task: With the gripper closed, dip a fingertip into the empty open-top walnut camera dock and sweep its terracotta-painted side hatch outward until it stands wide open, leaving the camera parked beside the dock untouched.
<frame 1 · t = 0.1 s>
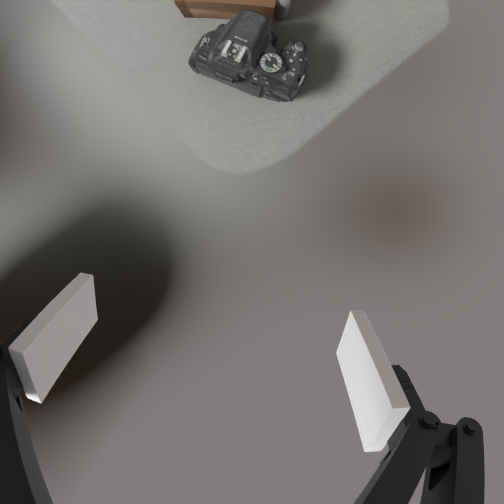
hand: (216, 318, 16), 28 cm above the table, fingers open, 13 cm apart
camera: (249, 65, 35), on the table
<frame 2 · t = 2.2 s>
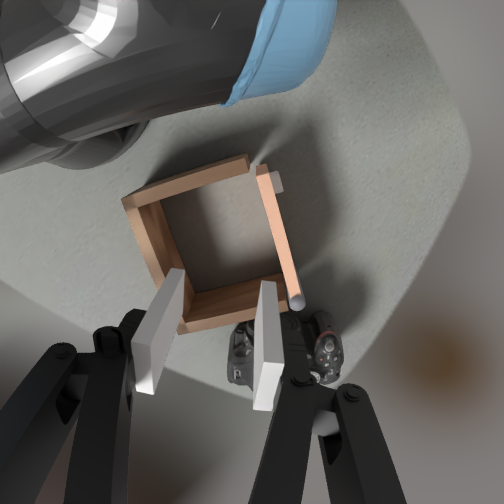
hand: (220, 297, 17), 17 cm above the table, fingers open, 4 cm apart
hatch: (283, 232, 29), point 4 cm above the table, hinge at 0.0°
dock: (220, 233, 34), on the table
camera: (279, 330, 38), on the table
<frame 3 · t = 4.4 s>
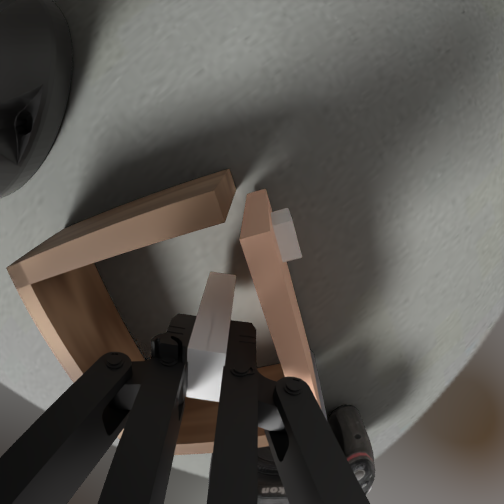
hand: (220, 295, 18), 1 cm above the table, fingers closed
hatch: (296, 325, 15), point 4 cm above the table, hinge at 0.1°, touching gripper
dock: (188, 306, 20), on the table
camera: (283, 426, 25), on the table
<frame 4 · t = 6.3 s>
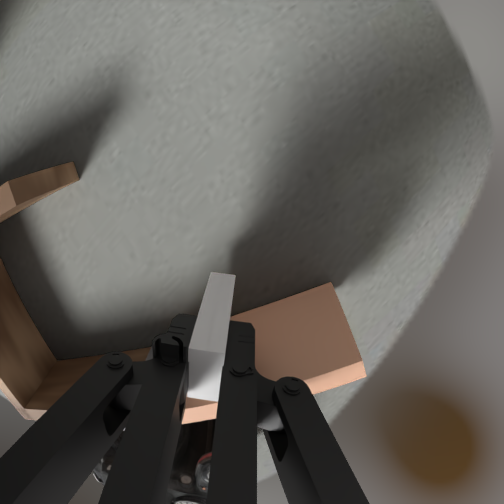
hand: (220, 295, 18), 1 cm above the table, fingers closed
hatch: (236, 363, 16), point 4 cm above the table, hinge at 84.5°
dock: (61, 286, 20), on the table
camera: (173, 416, 24), on the table
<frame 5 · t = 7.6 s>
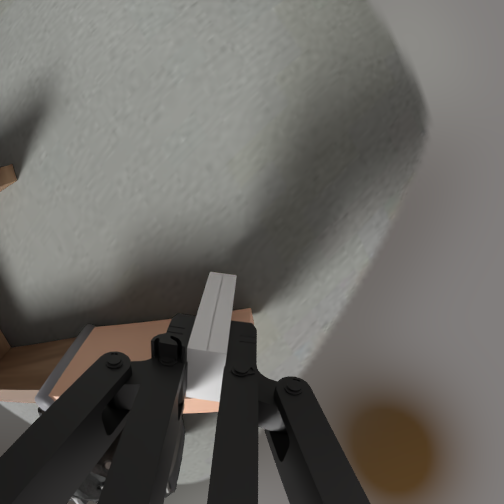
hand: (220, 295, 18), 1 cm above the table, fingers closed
hatch: (144, 367, 17), point 4 cm above the table, hinge at 95.3°, touching gripper
dock: (8, 277, 19), on the table
camera: (113, 407, 24), on the table
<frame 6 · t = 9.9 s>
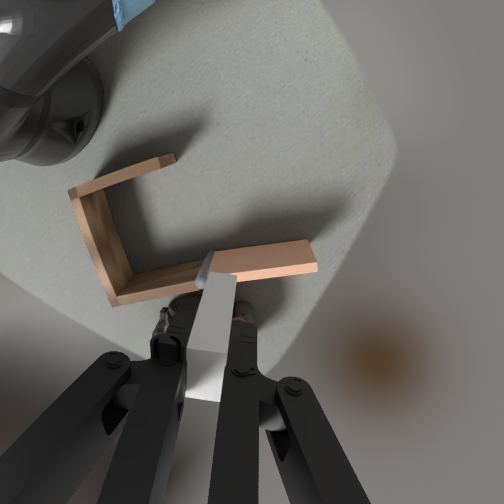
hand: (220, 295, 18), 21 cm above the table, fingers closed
hatch: (256, 264, 35), point 4 cm above the table, hinge at 95.4°
dock: (152, 222, 38), on the table
camera: (205, 316, 43), on the table
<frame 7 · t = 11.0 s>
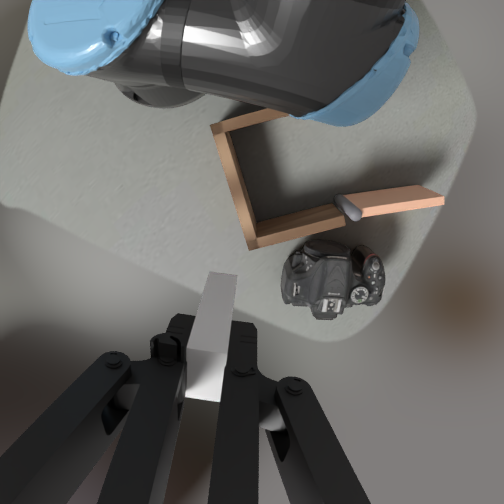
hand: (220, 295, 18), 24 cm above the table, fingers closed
hatch: (388, 202, 36), point 4 cm above the table, hinge at 95.4°
dock: (282, 167, 39), on the table
camera: (324, 263, 44), on the table
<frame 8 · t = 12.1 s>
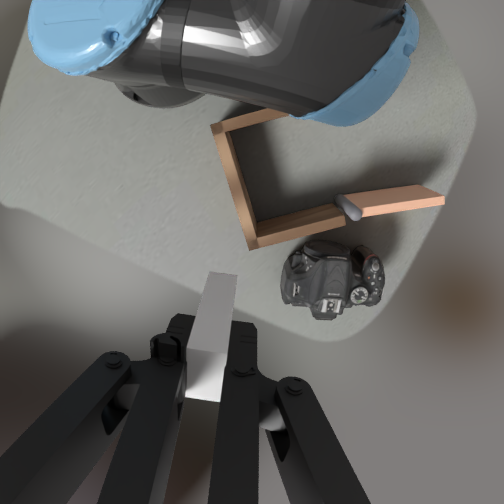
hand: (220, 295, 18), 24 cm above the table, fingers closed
hatch: (389, 202, 36), point 4 cm above the table, hinge at 95.4°
dock: (282, 167, 39), on the table
camera: (324, 263, 44), on the table
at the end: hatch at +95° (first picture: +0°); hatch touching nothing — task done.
